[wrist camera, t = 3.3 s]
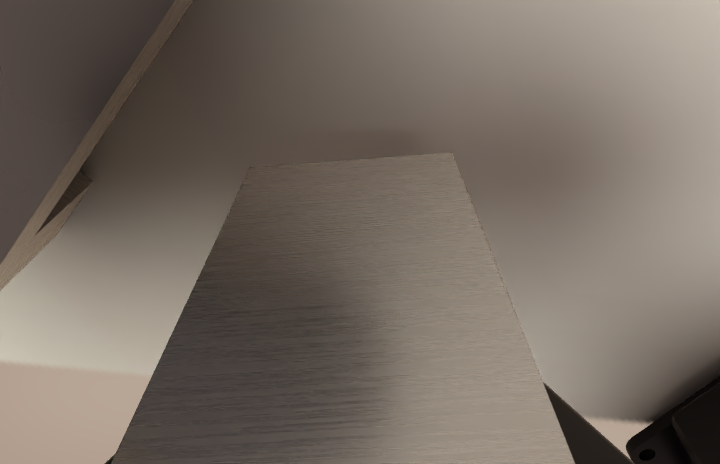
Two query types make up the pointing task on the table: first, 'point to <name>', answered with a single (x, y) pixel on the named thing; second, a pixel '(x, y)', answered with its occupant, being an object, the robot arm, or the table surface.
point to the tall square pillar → (348, 331)
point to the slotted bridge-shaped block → (63, 104)
